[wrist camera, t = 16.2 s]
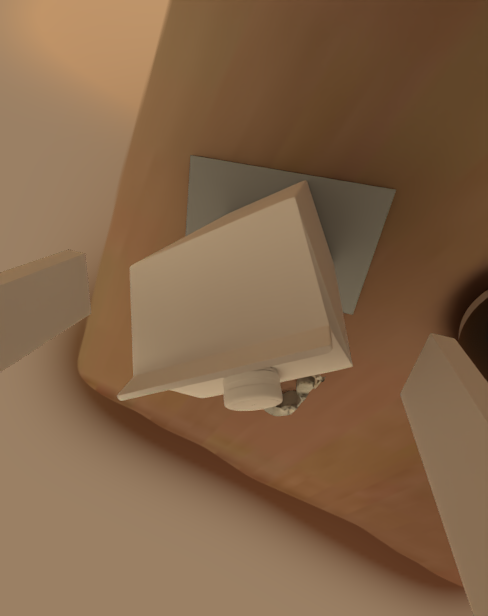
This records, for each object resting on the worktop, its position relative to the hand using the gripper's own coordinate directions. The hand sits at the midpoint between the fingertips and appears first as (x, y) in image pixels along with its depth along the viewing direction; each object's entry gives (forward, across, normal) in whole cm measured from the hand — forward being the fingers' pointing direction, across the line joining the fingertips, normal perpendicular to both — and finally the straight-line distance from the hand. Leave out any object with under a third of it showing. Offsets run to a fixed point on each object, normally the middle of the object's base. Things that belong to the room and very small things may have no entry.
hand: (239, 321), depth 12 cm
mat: (+16, -1, 0) cm, 16 cm away
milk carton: (+16, 0, 0) cm, 16 cm away
